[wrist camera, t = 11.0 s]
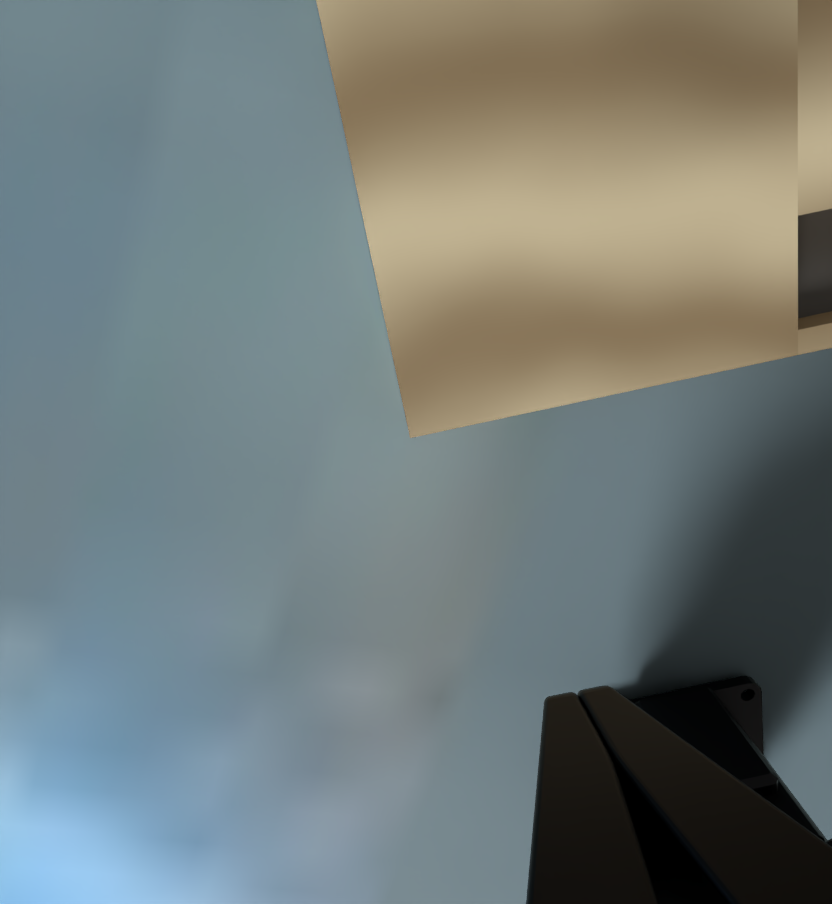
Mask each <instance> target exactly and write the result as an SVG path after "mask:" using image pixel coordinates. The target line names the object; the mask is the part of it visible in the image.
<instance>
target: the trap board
mask: <svg viewBox="0 0 832 904" xmlns="http://www.w3.org/2000/svg"><path fill="white" fill-rule="evenodd" d="M316 1H317V6H318V11H319V15H320V20H321V25H322V29H323V34H324V38H325V43H326V48H327V52H328V57H329V62H330V66H331V71H332V76H333V80H334V85H335V90H336V94H337V99H338V104H339V108H340V113H341V118H342V122H343V127H344V132H345V136H346V141H347V146H348V150H349V155H350V160H351V164H352V169H353V174H354V178H355V183H356V188H357V192H358V197H359V202H360V206H361V211H362V216H363V220H364V225H365V230H366V234H367V239H368V243H369V248H370V253H371V257H372V262H373V267H374V271H375V276H376V281H377V285H378V290H379V295H380V299H381V304H382V309H383V313H384V318H385V323H386V327H387V332H388V337H389V341H390V346H391V351H392V355H393V360H394V365H395V369H396V374H397V379H398V383H399V388H400V393H401V397H402V402H403V407H404V411H405V416H406V421H407V425H408V430H409V435H410V438H413V437H417V436H422V435H427V434H431V433H436V432H441V431H445V430H450V429H455V428H459V427H464V426H469V425H473V424H478V423H483V422H487V421H492V420H497V419H501V418H506V417H511V416H515V415H520V414H525V413H529V412H534V411H539V410H543V409H548V408H553V407H557V406H562V405H567V404H571V403H576V402H581V401H585V400H590V399H595V398H599V397H604V396H609V395H613V394H618V393H623V392H627V391H632V390H637V389H641V388H646V387H651V386H655V385H660V384H665V383H669V382H674V381H679V380H683V379H688V378H693V377H697V376H702V375H707V374H711V373H716V372H721V371H725V370H730V369H735V368H739V367H744V366H749V365H753V364H758V363H763V362H767V361H772V360H777V359H781V358H786V357H791V356H795V355H800V354H805V353H809V352H814V351H819V350H823V349H828V348H832V0H316Z"/></svg>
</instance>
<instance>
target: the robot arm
mask: <svg viewBox="0 0 832 904" xmlns="http://www.w3.org/2000/svg"><path fill="white" fill-rule="evenodd" d="M744 690H746V692H743V691H744ZM742 692H743V693H742ZM526 904H832V839H830V840H827V839H826V838H825V836H824V835H823V834H822V832H821V831H820V830H819V829H818V827H817V826H816V825H815V823H814V822H813V821H812V819H811V818H810V817H809V815H808V814H807V813H806V811H805V810H804V809H803V807H802V806H801V805H800V803H799V802H798V801H797V799H796V798H795V797H794V795H793V794H792V793H791V791H790V790H789V789H788V787H787V786H786V785H785V783H784V782H783V781H782V780H781V778H780V777H779V776H778V774H777V773H776V772H775V770H774V769H773V768H772V766H771V765H770V764H769V762H768V761H767V760H766V758H765V757H764V756H763V726H762V691H761V688H760V687H759V686H758V684H757V683H756V682H755V681H754V680H753V679H752V678H751V677H748V676H740V677H735V678H730V679H726V680H721V681H717V682H712V683H707V684H703V685H698V686H693V687H689V688H684V689H679V690H675V691H670V692H666V693H661V694H656V695H652V696H647V697H642V698H638V699H633V700H628V699H627V698H625V697H624V696H623V695H621V694H620V693H619V692H617V691H616V690H614V689H613V688H611V687H609V686H599V687H594V688H589V689H584V690H581V691H580V692H579V693H578V695H576V694H575V693H573V692H569V693H564V694H558V695H553V696H549V697H547V698H546V699H545V701H544V710H543V722H542V733H541V744H540V755H539V766H538V777H537V789H536V800H535V811H534V822H533V833H532V844H531V855H530V867H529V878H528V889H527V900H526Z"/></svg>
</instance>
